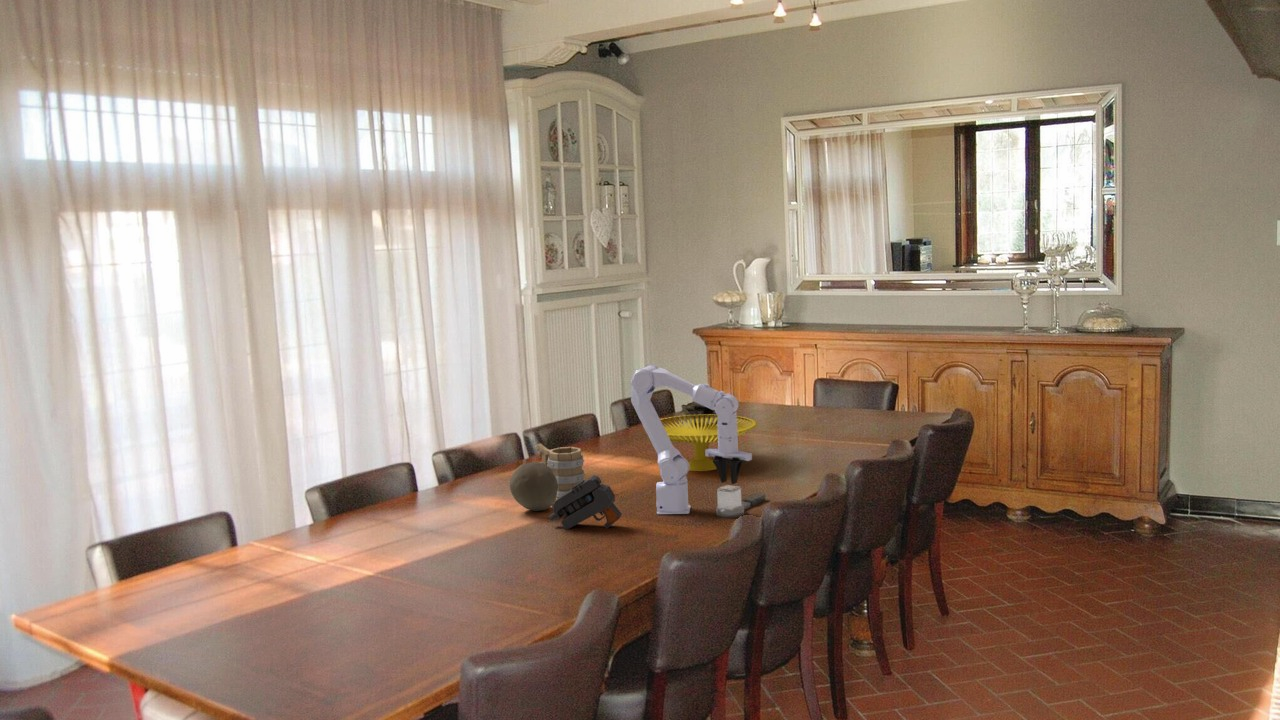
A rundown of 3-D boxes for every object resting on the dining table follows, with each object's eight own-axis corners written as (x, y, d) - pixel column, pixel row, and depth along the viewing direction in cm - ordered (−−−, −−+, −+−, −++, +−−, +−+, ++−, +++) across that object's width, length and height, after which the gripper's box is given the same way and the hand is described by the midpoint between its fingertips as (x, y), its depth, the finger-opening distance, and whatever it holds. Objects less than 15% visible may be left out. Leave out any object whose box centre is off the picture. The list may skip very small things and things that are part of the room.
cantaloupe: (539, 502, 323) (536, 455, 321) (568, 509, 313) (565, 461, 311) (502, 512, 313) (499, 464, 311) (531, 520, 303) (529, 470, 301)
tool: (623, 520, 289) (594, 474, 289) (567, 552, 293) (539, 507, 293) (627, 514, 295) (600, 469, 294) (573, 545, 299) (545, 501, 299)
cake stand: (701, 486, 334) (699, 441, 332) (621, 468, 364) (619, 426, 362) (783, 464, 360) (782, 421, 358) (702, 449, 390) (700, 409, 388)
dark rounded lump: (718, 435, 437) (696, 408, 442) (736, 416, 431) (714, 389, 436) (681, 446, 415) (659, 418, 420) (699, 426, 408) (677, 397, 413)
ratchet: (735, 519, 295) (734, 502, 295) (711, 515, 300) (710, 499, 299) (772, 501, 313) (771, 485, 312) (749, 498, 317) (748, 482, 317)
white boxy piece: (717, 508, 300) (717, 488, 299) (726, 504, 304) (726, 484, 303) (732, 510, 297) (731, 490, 296) (741, 506, 301) (740, 486, 300)
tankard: (594, 491, 334) (592, 445, 332) (566, 499, 325) (563, 453, 323) (553, 482, 348) (550, 439, 346) (524, 490, 339) (522, 445, 337)
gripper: (699, 437, 299) (700, 482, 301) (742, 441, 290) (743, 488, 292) (711, 432, 305) (713, 477, 306) (754, 436, 296) (756, 482, 298)
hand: (729, 482), depth 300 cm, fingers open, 3 cm apart
